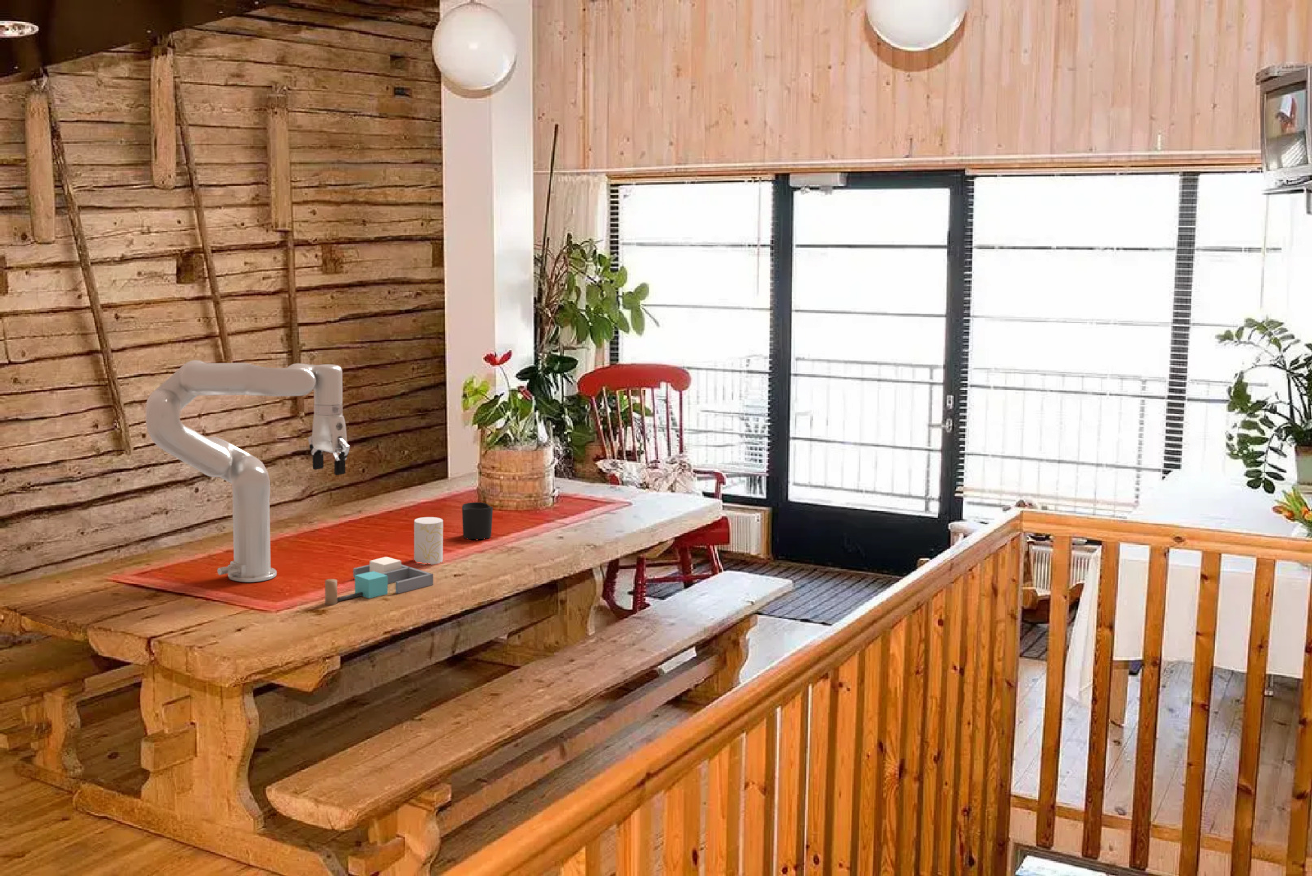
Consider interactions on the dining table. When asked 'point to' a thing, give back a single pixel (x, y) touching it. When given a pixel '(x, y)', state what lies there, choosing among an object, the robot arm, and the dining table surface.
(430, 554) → the cup
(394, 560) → the off-white block
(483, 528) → the pen holder
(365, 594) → the teal block with handle
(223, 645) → the dining table surface
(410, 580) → the lane rack
